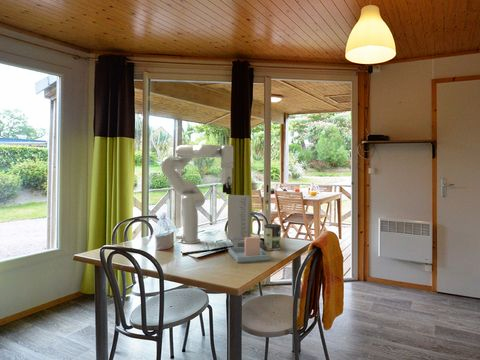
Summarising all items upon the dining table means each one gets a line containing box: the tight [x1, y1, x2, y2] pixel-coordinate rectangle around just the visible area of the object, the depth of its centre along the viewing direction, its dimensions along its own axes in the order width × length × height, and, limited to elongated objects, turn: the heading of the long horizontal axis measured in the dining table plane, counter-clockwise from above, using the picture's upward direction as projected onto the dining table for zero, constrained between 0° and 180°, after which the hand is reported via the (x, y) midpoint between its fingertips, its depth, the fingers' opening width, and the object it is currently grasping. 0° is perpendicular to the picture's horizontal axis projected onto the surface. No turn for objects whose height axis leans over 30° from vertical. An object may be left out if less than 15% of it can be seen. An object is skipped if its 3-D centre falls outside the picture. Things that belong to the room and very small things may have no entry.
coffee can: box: [263, 223, 282, 251], centre depth 206 cm, size 10×10×14 cm
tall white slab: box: [227, 194, 252, 241], centre depth 228 cm, size 14×6×30 cm, turn 73°
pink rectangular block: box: [244, 236, 261, 256], centre depth 187 cm, size 8×3×10 cm, turn 104°
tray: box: [228, 247, 271, 264], centre depth 187 cm, size 18×20×3 cm
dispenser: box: [232, 238, 264, 250], centre depth 205 cm, size 16×12×6 cm
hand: (226, 193), depth 206 cm, fingers open, 9 cm apart
